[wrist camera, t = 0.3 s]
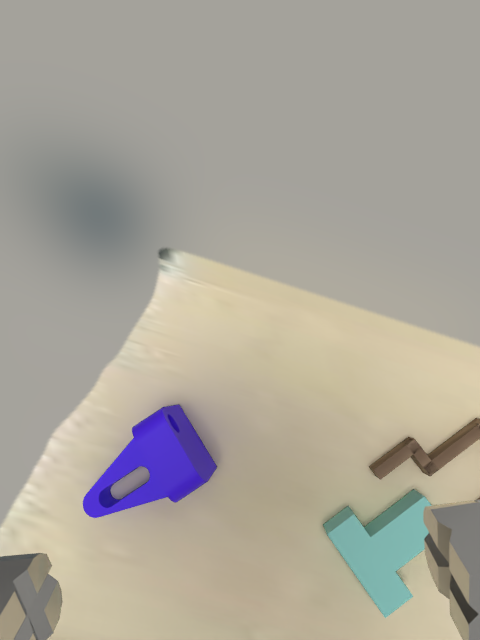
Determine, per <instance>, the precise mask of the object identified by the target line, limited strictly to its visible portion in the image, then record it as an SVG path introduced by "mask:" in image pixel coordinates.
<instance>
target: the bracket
mask: <svg viewBox="0 0 480 640" xmlns="http://www.w3.org/2000/svg"><path fill="white" fill-rule="evenodd" d="M132 432H133V436H134V438H133V439H132V441H131V442H130V443H129V444H128V445H127V447H126V448H125V449H124V450H123V451H122V453H121V454H120V455H119V456H118V457H117V458H116V460H115V461H114V462H113V463H112V464H111V466H110V467H109V468H108V469H107V470H106V472H105V473H104V474H103V475H102V476H101V477H100V479H99V480H98V481H97V482H96V483H95V485H94V486H93V487H92V488H91V489H90V491H89V492H88V493H87V494H86V496H85V497H84V500H83V508H84V511H85V512H86V514H87V515H89V516H90V517H94V518H97V517H101V516H104V515H108V514H111V513H114V512H118V511H121V510H125V509H128V508H131V507H135V506H138V505H141V504H145V503H148V502H151V501H155V500H158V499H162V498H165V497H169V499H170V500H172V501H173V502H178V501H179V500H181V499H182V498H184V497H185V496H187V495H188V494H190V493H191V492H193V491H194V490H196V489H197V488H198V487H200V486H201V485H203V484H204V483H206V482H207V481H208V480H209V478H210V477H211V475H212V474H213V472H214V471H215V469H216V468H217V466H216V464H215V463H214V461H213V460H212V458H211V456H210V455H209V453H208V451H207V450H206V448H205V446H204V445H203V443H202V441H201V440H200V438H199V436H198V435H197V433H196V431H195V430H194V428H193V426H192V425H191V423H190V421H189V420H188V418H187V417H186V415H185V413H184V412H183V410H182V408H181V407H180V405H173V406H167V407H163V408H161V409H160V410H158V411H157V412H155V413H154V414H152V415H151V416H149V417H148V418H146V419H144V420H143V421H141V422H140V423H138V424H137V425H135V426H134V427H133V428H132ZM139 466H143V467H146V468H147V469H148V470H149V473H150V478H149V481H148V482H146V483H145V484H143V485H142V486H140V487H139V488H137V489H136V490H134V491H133V492H131V493H130V494H128V495H127V496H125V497H124V498H123V499H120V500H116V499H114V498H113V497H112V496H111V493H110V489H111V486H112V485H113V484H114V483H115V482H117V481H118V480H120V479H121V478H123V477H124V476H126V475H127V474H129V473H130V472H132V471H133V470H135V469H136V468H138V467H139Z"/></svg>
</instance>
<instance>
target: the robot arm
mask: <svg viewBox="0 0 480 640" xmlns="http://www.w3.org/2000/svg"><path fill="white" fill-rule="evenodd" d="M423 522H424V524H425V526H426V528H427V529H428V531H429V533H428V535H427V536H426V537H425V539H424V546H425V555H426V559H427V563H428V567H429V570H430V573H431V575H432V578H433V580H434V582H435V584H436V587H437V589H438V591H439V592H440V593H442V594H443V595H444V596H446V597H447V598H448V599H450V615H451V617H452V619H453V621H454V623H455V625H456V627H457V629H458V631H459V633H460V635H461V637H462V639H463V640H480V499H479V500H475V501H465V502H457V503H449V504H442V505H434V506H426V507H425V508H424V511H423ZM51 567H52V565H51V562H50V560H49V558H48V556H47V554H43V553H35V554H24V555H13V556H2V557H0V640H47V639H48V638H49V636H50V635H51V634H52V633H53V632H54V630H55V627H56V625H57V623H58V620H59V617H60V612H61V606H62V593H61V588H60V585H59V583H58V581H57V580H56V579H54V578H53V577H52V576H50V575H49V574H48V573H49V571H50V569H51Z"/></svg>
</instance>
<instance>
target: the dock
mask: <svg viewBox="0 0 480 640" xmlns="http://www.w3.org/2000/svg"><path fill="white" fill-rule="evenodd" d="M478 439H480V419H477V418H476V419H474V420H473V421H472V422H471V423H469V424H468V425H467V426H465V427H464V428H463V429H461V430H460V431H459V432H457V433H456V434H455V435H453V436H452V437H451V438H449V439H448V440H447V441H445V442H444V443H443V444H442V445H440V446H439V447H438V448H436V449H435V450H434V451H432V452H431V453H430V454H428V455H427V454H426V453H425V452H424V450H423V449H422V448H421V447H420V445H419V444H418V443H417V441H416V440H415V439H413V438H410V437H408V438H406V439H405V440H404V441H403V442H401V443H400V444H399V445H397V446H396V447H395V448H393V449H392V450H391V451H389V452H388V453H387V454H385V455H384V456H383V457H381V458H380V459H379V460H377V461H376V462H375V463H373V464H372V465H371V466H369V467H370V469H371V470H372V471H373V473H374V474H375V475H376V476H377V477H378V478H379V479H382V478H383V477H384V476H386V475H387V474H388V473H390V472H391V471H392V470H394V469H395V468H396V467H398V466H399V465H400V464H401V463H403V462H404V461H405V460H407V459H408V458H409V457H411V458H412V459H413V460H414V461H415V463H416V464H417V465H418V467H419V468H420V469H421V471H422V472H423V473H425V474H427V475H428V476H431V475H432V474H434V473H435V472H436V471H438V470H439V469H440V468H442V467H443V466H444V465H446V464H447V463H448V462H449V461H451V460H452V459H453V458H455V457H456V456H457V455H459V454H460V453H461V452H463V451H464V450H465V449H467V448H468V447H469V446H470V445H472V444H473V443H474V442H476V441H477V440H478ZM479 499H480V498H478V499H477V500H479Z"/></svg>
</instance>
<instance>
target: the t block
mask: <svg viewBox="0 0 480 640" xmlns="http://www.w3.org/2000/svg"><path fill="white" fill-rule="evenodd" d="M426 506H431V504H430V503H429V502H428V500H427V499H426V498H425V496H423V495H422V494H420V493H419V492H417V491H416V490H414V489H413V490H412V491H411V492H409V493H408V494H407V495H405V496H404V497H403V498H402V499H400V500H399V501H398V502H396V503H395V504H394V505H392V506H391V507H390V508H388V509H387V510H386V511H385V512H383V513H382V514H381V515H379V516H378V517H377V518H375V519H374V520H373V521H371V522H370V523H369V524H367V525H366V526H365V527H363V526H362V524H361V523H360V521H359V520H358V519H357V517H356V516H355V514H354V513H353V512H352V510H351V509H350V508H349V506H347V507H346V508H345V509H343V510H342V511H341V512H339V513H338V514H337V515H335V516H334V517H333V518H331V519H330V520H329V521H327V522H326V523H325V524H323V526H324V528H325V531H326V533H327V535H328V537H329V538H330V539H331V541H332V542H333V544H334V545H335V547H336V548H337V549H338V551H339V552H340V554H341V555H342V557H343V558H344V560H345V561H346V562H347V564H348V565H349V567H350V568H351V570H352V571H353V572H354V574H355V575H356V577H357V578H358V580H359V581H360V582H361V584H362V585H363V587H364V588H365V590H366V591H367V592H368V594H369V595H370V597H371V598H372V600H373V601H374V603H375V604H376V605H377V607H378V608H379V610H380V611H381V613H382V614H383V615H384V617H385V618H386V617H387V616H389V615H390V614H391V613H392V612H394V611H395V610H396V609H398V608H399V607H400V606H401V605H403V604H404V603H405V602H407V601H408V600H409V599H410V598H412V597H413V596H412V594H411V593H410V591H409V590H408V588H407V587H406V586H405V584H404V583H403V581H402V580H401V578H400V577H399V576H398V574H397V573H396V571H397V570H398V569H399V568H401V567H402V566H403V565H405V564H406V563H407V562H409V561H410V560H411V559H412V558H414V557H415V556H416V555H418V554H419V553H420V552H421V551H423V550H424V549H425V546H424V539H425V537H426V536H427V535H428V533H429V531H428V529H427V528H426V526H425V524H424V522H423V511H424V508H425V507H426Z"/></svg>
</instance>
